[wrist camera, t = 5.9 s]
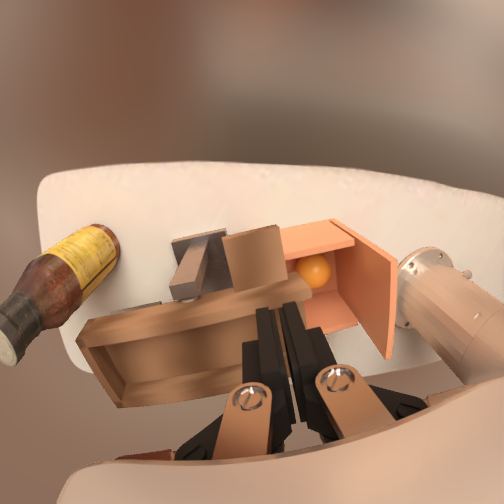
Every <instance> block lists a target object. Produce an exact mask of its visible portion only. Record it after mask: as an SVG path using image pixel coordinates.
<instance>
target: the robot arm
mask: <svg viewBox="0 0 504 504" xmlns="http://www.w3.org/2000/svg"><path fill="white" fill-rule="evenodd" d="M471 277H472V273H471V271H470V270H466V271H464V272H462V273H461V272H459V271H458V270H456V269H454V267H453V264H452V261H451V259H450V257H449V256H448V255H447V254H446V253H445V252H444V251H442V250H440V249H438V248H434V247H426V248H422V249H419V250H417V251H415V252H413V253H412V254H411V255H409V256H408V257H407V258H406V259H405V260H404V261H403V262H402V263H401V264H400V265H399V267H398V273H397V302H396V317H395V324H396V325H398V326H399V327H401V328H404V329H413V328H414V329H415V330H416V331H417V332H418V333H419V334H420V335H421V336H422V337H423V338H424V339H425V340H426V342H427V343H428V344H429V345H430V346H431V347H432V348H433V349H434V350H435V352H436V353H437V354H438V355H439V356H440V357H441V358H442V359H443V361H444V362H445V363H446V364H447V365H448V366H449V367H450V369H451V370H452V371H453V372H454V373H455V375H456V376H457V377H458V378H459V379H460V380H461V381H462V383H463V384H464V385H465V386H462V387H458V388H455V389H451V390H448V391H444V392H440V393H437V394H433V395H429V396H427V398H426V399H423V400H422V399H420V398H418V397H415V396H411V395H407V394H402V393H398V392H395V391H391V390H387V389H383V388H379V387H375V386H372V385H368V384H367V383H366V382H365V380H364V379H363V378H362V376H361V375H360V374H359V372H358V371H357V370H356V369H354V368H353V367H351V366H349V365H343V364H338V365H337V363H336V360H335V358H334V356H333V353H332V351H331V349H330V347H329V344H328V342H327V340H326V338H325V335H324V333H323V331H322V329H321V327H320V326H319V327H315V328H311V329H307V330H306V329H305V326H304V323H303V320H302V318H301V315H300V312H299V310H298V307H297V304H296V302H295V301H292V302H288V303H283V304H282V305H283V307H280V308H278V311H279V316H280V322H281V327H282V333H283V338H284V344H285V349H286V355H287V360H288V365H289V369H290V374H291V379H292V383H293V388H294V392H295V397H296V402H297V406H298V411H299V416H300V420H301V422H305V421H306V422H307V426H308V429H311V430H314V431H316V432H318V433H319V435H320V438H321V440H322V442H323V444H322V445H318V446H313V447H309V448H304V449H299V450H294V451H289V452H284V446H285V445H284V440H285V439H286V438H287V437H288V436H289V435H290V434H291V432H292V429H291V424H295V423H296V419H295V413H294V407H293V402H292V396H291V391H290V385H289V380H288V374H287V369H286V364H285V359H284V355H283V350H282V345H281V340H280V335H279V331H278V326H277V321H276V316H275V312H274V309H271V310H269V308H268V307H263V308H258V309H255V311H256V322H257V333H258V340H253V341H247V342H242V385H239V386H238V387H236V388H235V389H233V390H232V391H231V392H230V394H229V396H228V398H227V402H226V406H225V410H224V413H223V414H222V415H221V416H220V417H218V418H217V419H216V420H215V421H213V422H212V423H211V424H210V425H208V426H207V427H206V428H204V429H203V430H202V431H201V432H199V433H198V434H197V435H195V436H194V437H193V438H191V439H190V440H189V441H187V442H186V443H184V444H183V445H182V446H181V447H180V448H179V449H178V450H177V451H173V452H172V451H171V449H168V450H163V451H156V452H149V453H141V454H133V455H124V456H120V457H118V458H116V459H115V460H109V461H101V462H96V463H92V464H88V465H85V466H82V467H80V468H79V469H77V470H76V471H74V473H72V474H71V476H70V477H69V478H68V480H67V482H66V483H65V485H64V487H63V489H62V491H61V493H60V496H59V498H58V500H57V503H56V504H504V304H503V303H502V302H501V301H499V300H498V299H496V298H495V297H493V296H492V295H490V294H489V293H488V292H486V291H485V290H483V289H482V288H480V287H479V286H477V285H476V284H474V282H473V281H469V280H468V279H470V278H471Z"/></svg>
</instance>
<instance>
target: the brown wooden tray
mask: <svg viewBox="0 0 504 504" xmlns="http://www.w3.org/2000/svg"><path fill="white" fill-rule="evenodd" d="M222 242H223V246H224V250H225V254H226V258H227V262H228V266H229V270H230V274H231V278H232V282H233V286H234V287H233V288H229V289H225V290H221V291H217V292H212V293H208V294H204V295H200V296H196V297H190V298H185V299H181V300H178V301H174V302H170V303H165V304H162V303H161V301H159V302H155V303H151V304H146V305H142V306H137V307H132V308H128V309H123V310H118V311H114V312H111V314H110V316H105V317H100V318H95V319H90V320H88V321H87V323H86V324H85V326H84V327H83V329H82V330H81V332H80V333H79V335H78V337H77V338H76V340H75V341H76V343H77V345H78V347H79V349H80V350H81V352H82V354H83V356H84V357H85V359H86V361H87V362H88V364H89V366H90V367H91V369H92V371H93V372H94V374H95V375H96V377H97V378H98V380H99V382H100V383H101V385H102V386H103V388H104V389H105V391H106V392H107V394H108V395H109V397H110V398H111V399H112V401H113V402H114V404H115V405H116V406H117V408H128V407H140V406H150V405H158V404H166V403H174V402H180V401H187V400H193V399H199V398H204V397H209V396H215V395H220V394H225V393H230V392H231V391H232V390H233V389H235V388H236V387H238V386H239V385H242V342H247V341H253V340H258V333H257V322H256V311H255V309H258V308H263V307H268V308H269V310H271V309H274V312H275V316H276V321H277V326H278V331H279V335H280V340H281V345H282V350H283V355H284V359H285V364H286V369H287V374H288V378H289V377H291V374H290V369H289V365H288V360H287V355H286V349H285V344H284V338H283V333H282V327H281V322H280V316H279V311H278V308H280V307H283V305H282V304H283V303H288V302H292V301H295V302H296V304H297V307H298V310H299V312H300V315H301V318H302V320H303V323H304V326H305V329H306V330H307V322H306V314H305V307H304V300H307V299H310V298H312V291H311V287H310V286H309V285H308V284H307V282H306V281H305V280H304V279H303V278H302V277H301V275H300V274H299V273H298V272H297V271H295V272H292V273H288V274H287V269H286V263H285V257H284V252H283V246H282V240H281V235H280V229H279V227H278V226H277V225H276V224H275V225H271V226H267V227H262V228H258V229H254V230H250V231H245V232H241V233H237V234H233V235H229V236H225V237H222Z"/></svg>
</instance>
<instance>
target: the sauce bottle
mask: <svg viewBox="0 0 504 504" xmlns="http://www.w3.org/2000/svg"><path fill="white" fill-rule="evenodd" d="M119 252H120V248H119V243H118V241H117V239H116V236H115V235H114V234H113V232H112V231H111V230H110V229H109V228H107V227H105V226H103V225H100V224H92V225H90V226H87V227H83V228H81V229H80V230H78V231H76V232H75V233H73V234H71V235H70V236H68V237H67V238H65V239H63V240H62V241H60V242H59V243H57V244H56V245H54V246H53V247H51V248H49V249H48V250H47V251H45V252H44V253H42V254H41V255H39V256H38V257H37V258H35V259H34V260H32V262H30V263H29V264H28V266H27V267H26V269H25V271H24V272H23V274H22V276H21V278H20V279H19V281H18V283H17V285H16V287H15V289H14V290H13V292H12V294H11V295H10V296H9V298H8V299H7V300H6V301H5V302H4V303H3V304H1V305H0V361H1V362H3V363H4V364H6V365H8V366H15V365H17V363H18V362H19V361H20V360H21V359H22V357H23V356H24V354H25V350H26V348H27V346H28V345H29V344H30V343H31V342H32V340H33V339H34V338H35V337H37V336H38V335H39V334H40V332H41V331H43V330H46V329H52V328H58V327H60V326H62V325H63V324H64V323H65V322H66V321H67V320H68V319H69V317H70V316H71V315H72V314H73V312H74V311H76V310H77V309H78V308H79V307H80V306H81V305H82V303H83V302H84V301H85V300H86V299H87V298H88V296H89V295H90V294H91V293H92V292H93V291H94V289H95V288H96V287H97V286H98V285H99V284H100V283H101V281H102V280H103V279H104V278H105V277H106V276H107V275H108V274H109V273H110V272H111V270H112V269H113V268H114V266H115V264H116V262H117V260H118V257H119Z"/></svg>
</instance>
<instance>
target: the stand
mask: <svg viewBox="0 0 504 504" xmlns="http://www.w3.org/2000/svg"><path fill="white" fill-rule="evenodd" d="M225 236H227V233H226V228H223V229H219V230H214V231H210V232H205V233H201V234H196V235H192V236H188V237H183V238H179V239H175V240H173V241H172V247H173V250H174V253H175V257H176V260H177V263H178V269H177V271H176V273H175V275H174V277H173V279H172V281H171V283H170V285H169V288H170V291H171V294H172V297H173V300H180V299H185V298H190V297H196V296H200V295H204V294H208V293H212V292H217V291H221V290H225V289H229V288H233V287H234V286H233V282H232V278H231V274H230V270H229V266H228V262H227V258H226V254H225V250H224V246H223V242H222V237H225Z"/></svg>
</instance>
